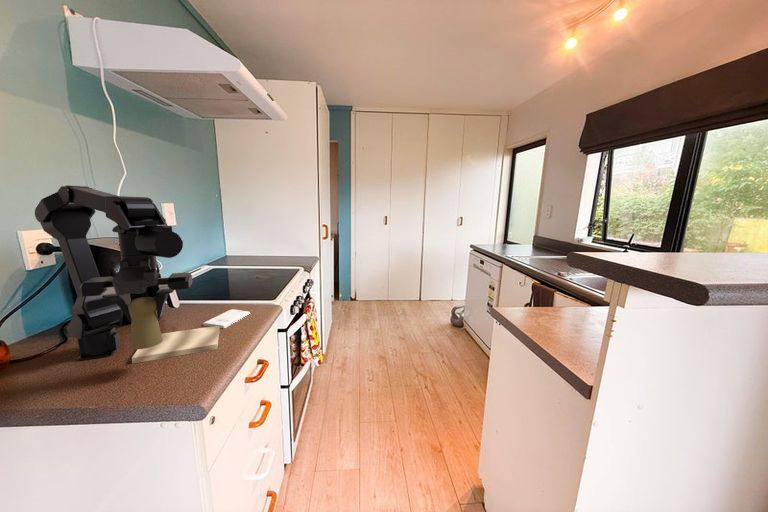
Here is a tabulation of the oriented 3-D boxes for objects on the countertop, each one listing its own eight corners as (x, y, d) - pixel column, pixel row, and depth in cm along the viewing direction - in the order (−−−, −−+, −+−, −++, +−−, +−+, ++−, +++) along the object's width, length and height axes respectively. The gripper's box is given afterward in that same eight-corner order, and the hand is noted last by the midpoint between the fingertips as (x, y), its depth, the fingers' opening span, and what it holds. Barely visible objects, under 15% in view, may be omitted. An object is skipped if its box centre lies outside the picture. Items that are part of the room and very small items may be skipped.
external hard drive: (250, 315, 101) (224, 330, 89) (230, 313, 103) (202, 326, 91) (250, 311, 101) (223, 325, 89) (230, 309, 103) (202, 322, 91)
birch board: (132, 363, 69) (131, 358, 68) (147, 340, 80) (146, 335, 80) (216, 349, 77) (216, 344, 76) (219, 330, 88) (219, 325, 88)
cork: (128, 341, 66) (124, 297, 64) (161, 334, 70) (158, 293, 68) (129, 352, 61) (125, 304, 59) (164, 344, 65) (161, 299, 64)
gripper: (58, 262, 51) (71, 341, 54) (181, 258, 59) (187, 326, 62) (87, 252, 61) (97, 319, 63) (190, 249, 69) (195, 309, 72)
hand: (145, 318), depth 65 cm, fingers closed on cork, 5 cm apart
